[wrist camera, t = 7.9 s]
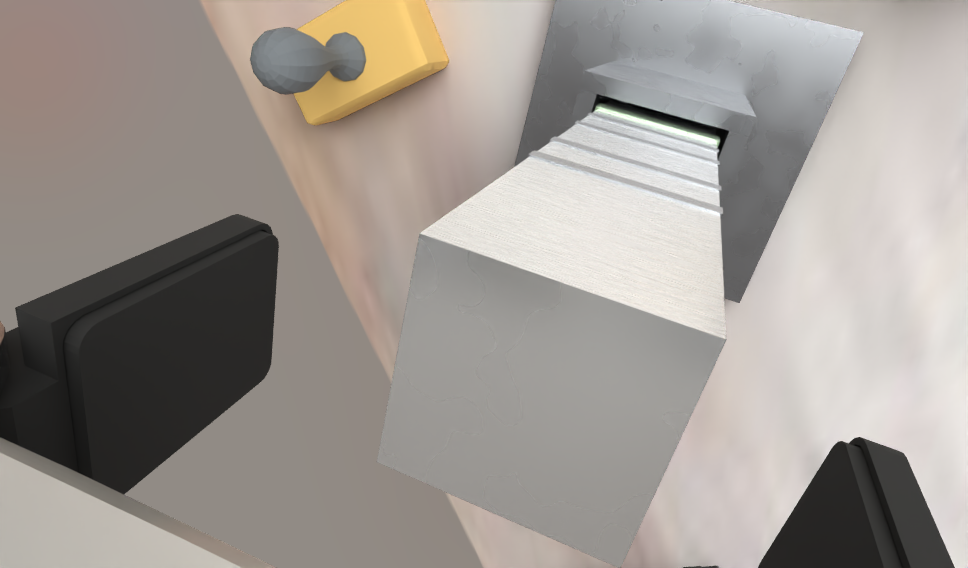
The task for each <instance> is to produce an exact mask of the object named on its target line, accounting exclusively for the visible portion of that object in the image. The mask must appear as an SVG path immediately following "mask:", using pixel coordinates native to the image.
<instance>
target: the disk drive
mask: <svg viewBox="0 0 968 568" xmlns="http://www.w3.org/2000/svg"><path fill="white" fill-rule="evenodd" d="M683 568H719V567H718V566H708V567H701V566H696V567H683Z"/></svg>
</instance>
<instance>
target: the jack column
mask: <svg viewBox="0 0 968 568" xmlns="http://www.w3.org/2000/svg"><path fill="white" fill-rule="evenodd" d="M719 143H720V137H719V136H716V129H713V128H709V127H706V126H702V125H699V124H695V123H692V122H688V121H684V120H681V119H677V118H674V117H670V116H667V115H663V114H659V113H656V112H652V111H649V110H645V109H641V108H638V107H634V106H631V105H627V104H624V103H620V102H616V101H613V100H610V101H609V102H607V103H606V104H602V103H600V104H598V105H597V106H596V108H595V111H594V112H593V113H588V114H587V117H586V118H584V119H583V120H581V121H576V122H575V123H574V126H573V127H571V128H570V129H568V130H567V131H566V132H564V133H563V134H561V135H560V136H558V137H555V136H554V137H553V138H551V139H550V141H549V143H548V144H547V145H545V146H544V147H543V148H541V149H540V150H538V151H535V150H534V151H532V152H531V153H529V154H528V157H527V159H525V160H524V161H522V162H521V163H520V164H518V165H517V166H515V167H514V168H512V169H511V170H510V171H508V172H507V173H505V174H504V175H502V176H501V177H500V178H498V179H497V180H495V181H494V182H492V183H491V184H490V185H488V186H487V187H485V188H484V189H482V190H481V191H479V192H478V193H477V194H475V195H474V196H472V197H471V198H469V199H468V200H467V201H465V202H464V203H462V204H461V205H459V206H458V207H457V208H455V209H454V210H452V211H451V212H449V213H448V214H446V215H445V216H444V217H442V218H441V219H439V220H438V221H436V222H435V223H434V224H432V225H431V226H429V227H428V228H426V229H425V230H424V231H422V232H421V233H420V234H419V239H418V245H417V250H416V255H415V261H414V266H413V271H412V277H411V282H410V287H409V293H408V298H407V303H406V309H405V314H404V319H403V325H402V330H401V335H400V341H399V346H398V351H397V357H396V362H395V367H394V373H393V378H392V383H391V389H390V394H389V399H388V405H387V410H386V416H385V421H384V426H383V432H382V437H381V442H380V448H379V453H378V458H377V462H378V463H380V464H382V465H385V466H387V467H389V468H391V469H394V470H396V471H398V472H401V473H403V474H405V475H408V476H410V477H412V478H414V479H417V480H419V481H421V482H424V483H426V484H428V485H430V486H433V487H435V488H437V489H439V490H442V491H444V492H446V493H449V494H451V495H453V496H455V497H458V498H460V499H462V500H465V501H467V502H469V503H471V504H474V505H476V506H478V507H481V508H483V509H485V510H487V511H490V512H492V513H494V514H497V515H499V516H501V517H503V518H506V519H508V520H510V521H513V522H515V523H517V524H519V525H522V526H524V527H526V528H529V529H531V530H533V531H535V532H538V533H540V534H542V535H545V536H547V537H549V538H552V539H554V540H556V541H558V542H561V543H563V544H565V545H568V546H570V547H572V548H574V549H577V550H579V551H581V552H584V553H586V554H588V555H590V556H593V557H595V558H597V559H600V560H602V561H604V562H606V563H609V564H611V565H613V566H616V567H618V568H621V566H622V564H623V561H624V559H625V557H626V555H627V553H628V551H629V549H630V546H631V544H632V542H633V540H634V538H635V536H636V533H637V531H638V529H639V527H640V525H641V523H642V520H643V518H644V516H645V514H646V512H647V510H648V508H649V505H650V503H651V501H652V499H653V497H654V495H655V492H656V490H657V488H658V486H659V484H660V482H661V480H662V477H663V475H664V473H665V471H666V469H667V467H668V464H669V462H670V460H671V458H672V456H673V454H674V451H675V449H676V447H677V445H678V443H679V441H680V439H681V436H682V434H683V432H684V430H685V428H686V426H687V423H688V421H689V419H690V417H691V415H692V413H693V411H694V408H695V406H696V404H697V402H698V400H699V398H700V395H701V393H702V391H703V389H704V387H705V385H706V383H707V380H708V378H709V376H710V374H711V372H712V370H713V367H714V365H715V363H716V361H717V359H718V357H719V354H720V352H721V350H722V348H723V346H724V344H725V342H726V322H725V302H724V282H723V262H722V241H721V221H720V220H721V217H722V215H723V208H722V207H720V201H719V196H720V193H721V191H722V190H721V186H720V185H719V181H718V168H719V166H720V161H718V160H717V156H718V153H719V149H717V148H718V145H719Z"/></svg>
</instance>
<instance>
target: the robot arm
mask: <svg viewBox="0 0 968 568" xmlns="http://www.w3.org/2000/svg"><path fill="white" fill-rule="evenodd" d="M278 246H279V245H278V239H277V238H276V237H275V236H274V235H273V233H272V230H271V227H269V225H267V224H265V223H262V222H259V221H256V220H253V219H250V218H248V217H245V216H242V215H239V214H236V215H232V216H230V217H227V218H225V219H223V220H220V221H218V222H215V223H213V224H211V225H208V226H206V227H204V228H201V229H199V230H197V231H194V232H192V233H189V234H187V235H185V236H182V237H180V238H178V239H175V240H173V241H171V242H168V243H166V244H164V245H161V246H159V247H157V248H154V249H152V250H150V251H147V252H145V253H143V254H140V255H138V256H135V257H133V258H131V259H128V260H126V261H124V262H122V263H119V264H117V265H114V266H112V267H110V268H108V269H105V270H103V271H100V272H98V273H96V274H93V275H91V276H89V277H86V278H84V279H82V280H79V281H77V282H75V283H72V284H70V285H68V286H65V287H63V288H60V289H58V290H56V291H53V292H51V293H49V294H46V295H44V296H42V297H39V298H37V299H35V300H32V301H30V302H28V303H25V304H23V305H21V306H18V307H16V308H15V309H16V315H17V321H18V327H17V328H15V329H13V330H11V331H9V332H5V327H4V326H3V324H2V323H1V321H0V568H276V567H274V566H272V565H270V564H268V563H266V562H264V561H262V560H260V559H258V558H256V557H254V556H251V555H249V554H247V553H245V552H243V551H241V550H239V549H237V548H235V547H233V546H230V545H229V544H226V543H224V542H222V541H220V540H218V539H216V538H214V537H212V536H210V535H208V534H206V533H203V532H201V531H199V530H197V529H195V528H193V527H191V526H189V525H186V524H185V523H182V522H180V521H178V520H176V519H174V518H172V517H170V516H168V515H166V514H163V513H161V512H159V511H157V510H155V509H153V508H151V507H149V506H147V505H145V504H142V503H140V502H138V501H136V500H134V499H132V498H130V497H128V496H125V495H124V494H125V493H126V492H128V491H129V490H130V489H131V488H132V487H134V486H135V485H136V484H137V483H138V482H140V481H141V480H142V479H143V478H145V477H146V476H147V475H148V474H149V473H151V472H152V471H153V470H154V469H155V468H156V467H158V466H159V465H160V464H162V463H163V462H164V461H165V460H166V459H168V458H169V457H170V456H171V455H172V454H174V453H175V452H176V451H177V450H178V449H180V448H181V447H182V446H183V445H185V444H186V443H187V442H188V441H189V440H191V439H192V438H193V437H194V436H196V435H197V434H198V433H199V432H200V431H202V430H203V429H204V428H205V427H206V426H208V425H209V424H210V423H211V422H212V421H214V420H215V419H216V418H217V417H219V416H220V415H221V414H222V413H224V412H225V411H226V410H227V409H228V408H230V407H231V406H232V405H233V404H234V403H235V402H237V401H238V400H239V399H241V398H242V397H243V396H244V395H245V394H246V393H248V392H249V391H250V390H251V389H253V388H254V387H255V386H256V385H258V384H259V383H260V382H261V381H262V380H263V379H264V378H265V376H266V375H267V373H268V371H269V368H270V365H271V357H272V342H273V326H274V311H275V294H276V279H277V263H278V248H279V247H278ZM758 568H955V567H954V565H953V563H952V560H951V558H950V556H949V554H948V551H947V549H946V547H945V544H944V542H943V540H942V538H941V535H940V533H939V531H938V528H937V526H936V524H935V522H934V519H933V517H932V515H931V512H930V510H929V508H928V506H927V503H926V501H925V499H924V496H923V494H922V492H921V490H920V487H919V485H918V483H917V480H916V478H915V476H914V474H913V471H912V469H911V467H910V464H909V462H908V460H907V458H906V456H905V455H904V453H902V452H900V451H897V450H894V449H892V448H889V447H886V446H883V445H880V444H878V443H875V442H872V441H869V440H866V439H864V438H861V437H857V438H854V439H853V440H852V441H851V442H850V443H849V444H848V443H845V442H843V441H840V442H837V443H836V444H835V445H834V446H833V448H832V449H831V451H830V452H829V454H828V455H827V457H826V459H825V460H824V462H823V463H822V465H821V467H820V468H819V470H818V471H817V473H816V475H815V476H814V478H813V479H812V481H811V483H810V484H809V486H808V487H807V489H806V491H805V492H804V494H803V495H802V497H801V499H800V500H799V502H798V503H797V505H796V507H795V508H794V510H793V511H792V513H791V515H790V516H789V518H788V519H787V521H786V523H785V524H784V526H783V527H782V529H781V531H780V532H779V534H778V535H777V537H776V539H775V540H774V542H773V543H772V545H771V547H770V548H769V550H768V551H767V553H766V555H765V556H764V558H763V559H762V561H761V563H760V565H759V567H758Z"/></svg>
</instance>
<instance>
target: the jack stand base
mask: <svg viewBox="0 0 968 568" xmlns="http://www.w3.org/2000/svg"><path fill="white" fill-rule="evenodd" d="M863 34H864V32H861V31H857V30H852V29H848V28H844V27H840V26H835V25H831V24H827V23H823V22H818V21H814V20H810V19H806V18H801V17H797V16H793V15H789V14H785V13H780V12H776V11H772V10H768V9H763V8H759V7H755V6H751V5H746V4H742V3H738V2H734V1H729V0H556V1H555V5H554V9H553V13H552V17H551V21H550V25H549V29H548V33H547V37H546V41H545V45H544V49H543V53H542V57H541V61H540V65H539V69H538V74H537V78H536V82H535V86H534V90H533V94H532V98H531V102H530V106H529V110H528V114H527V118H526V122H525V126H524V130H523V134H522V138H521V142H520V146H519V150H518V154H517V158H516V162H515V166H517V165H518V164H520V163H521V162H522V161H524V160H525V159H527V157H528V154H529V153H531V152H532V151H534V150H535V151H538V150H540V149H541V148H543V147H544V146H545V145H547V144H548V143H549V141H550V139H551V138H553V137H554V136H555V137H558V136H560V135H561V134H563V133H564V132H566V131H567V130H568V129H570V128H571V127H573V126H574V123H575V122H576V121H581V120H583V119H584V118H586V117H587V114H588V113H593V112H594V111H595V108H596V106H597V105H598V104H600V103H602V104H606V103H607V102H609V101H610V100H613V101H616V102H620V103H624V104H627V105H631V106H634V107H638V108H641V109H645V110H649V111H652V112H656V113H659V114H663V115H667V116H670V117H674V118H677V119H681V120H684V121H688V122H692V123H695V124H699V125H702V126H706V127H709V128H713V129H716V136H719V137H720V143H719V145H718V148H717V149H719V153H718V156H717V160H718V161H720V166H719V168H718V181H719V185H720V186H721V190H722V191H721V193H720V196H719V201H720V207H722V208H723V215H722V217H721V220H720V221H721V241H722V262H723V282H724V298H726V299H729V300H732V301H735V302H738V303H740V301H741V298H742V296H743V294H744V292H745V290H746V288H747V285H748V283H749V281H750V279H751V277H752V275H753V272H754V270H755V268H756V266H757V264H758V262H759V259H760V257H761V255H762V253H763V251H764V249H765V246H766V244H767V242H768V240H769V238H770V236H771V233H772V231H773V229H774V227H775V225H776V222H777V220H778V218H779V216H780V214H781V212H782V209H783V207H784V205H785V203H786V201H787V199H788V196H789V194H790V192H791V190H792V188H793V186H794V183H795V181H796V179H797V177H798V175H799V173H800V170H801V168H802V166H803V164H804V162H805V160H806V157H807V155H808V153H809V151H810V149H811V147H812V144H813V142H814V140H815V138H816V136H817V133H818V131H819V129H820V127H821V125H822V123H823V120H824V118H825V116H826V114H827V112H828V110H829V107H830V105H831V103H832V101H833V99H834V97H835V94H836V92H837V90H838V88H839V86H840V84H841V81H842V79H843V77H844V75H845V73H846V71H847V68H848V66H849V64H850V62H851V60H852V57H853V55H854V53H855V51H856V49H857V47H858V44H859V42H860V40H861V38H862V36H863ZM515 166H514V167H515Z"/></svg>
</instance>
